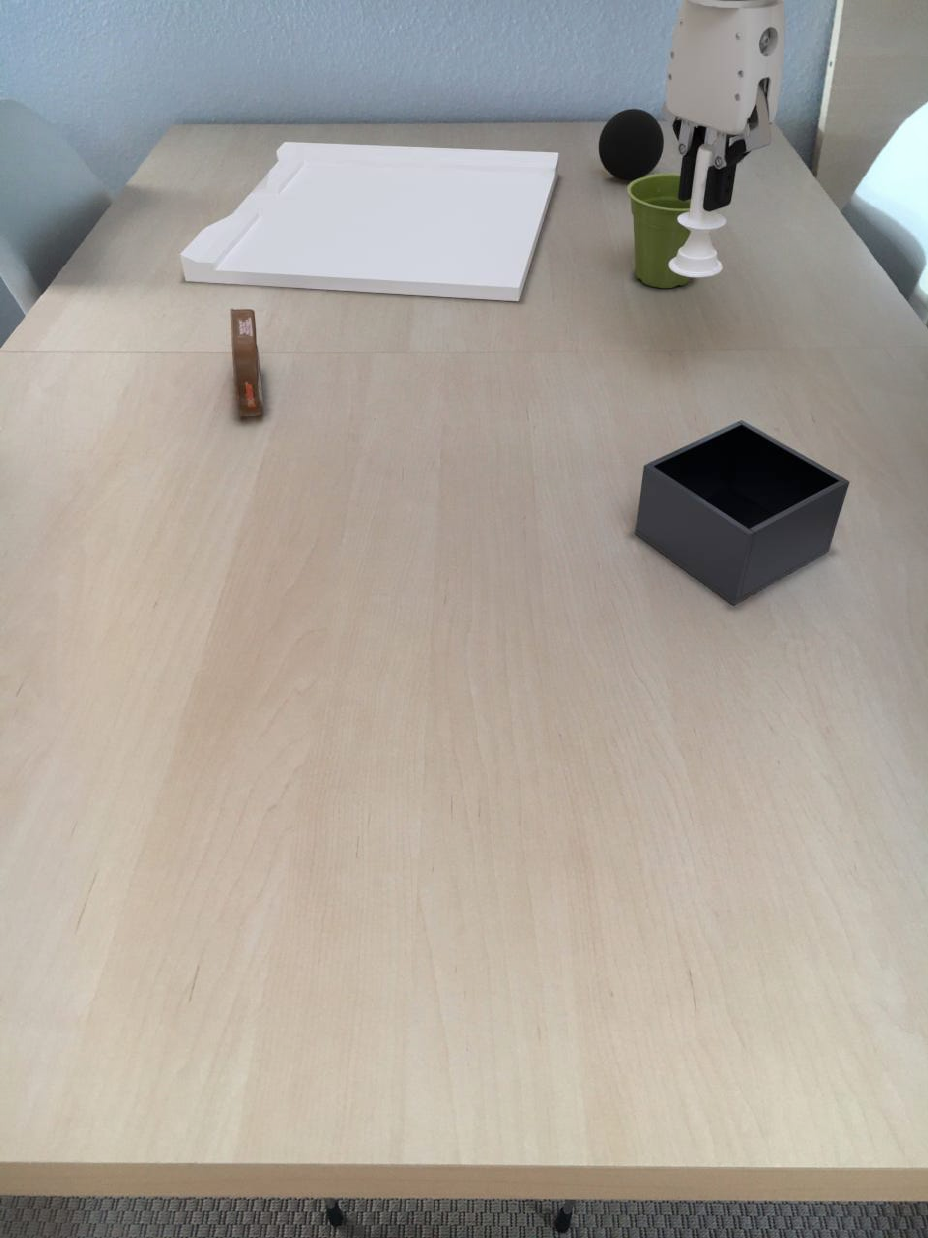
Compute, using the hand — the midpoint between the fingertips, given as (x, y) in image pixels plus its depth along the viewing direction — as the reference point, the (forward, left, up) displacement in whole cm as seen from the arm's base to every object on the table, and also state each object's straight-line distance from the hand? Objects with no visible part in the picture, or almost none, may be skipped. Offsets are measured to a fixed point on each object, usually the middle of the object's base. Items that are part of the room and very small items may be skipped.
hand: (704, 200), depth 95 cm
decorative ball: (-40, -52, -21) cm, 69 cm away
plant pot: (-19, -22, -21) cm, 36 cm away
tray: (0, -60, -21) cm, 63 cm away
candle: (0, 0, -7) cm, 7 cm away
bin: (+15, +22, -21) cm, 34 cm away
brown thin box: (+38, -28, -21) cm, 51 cm away
